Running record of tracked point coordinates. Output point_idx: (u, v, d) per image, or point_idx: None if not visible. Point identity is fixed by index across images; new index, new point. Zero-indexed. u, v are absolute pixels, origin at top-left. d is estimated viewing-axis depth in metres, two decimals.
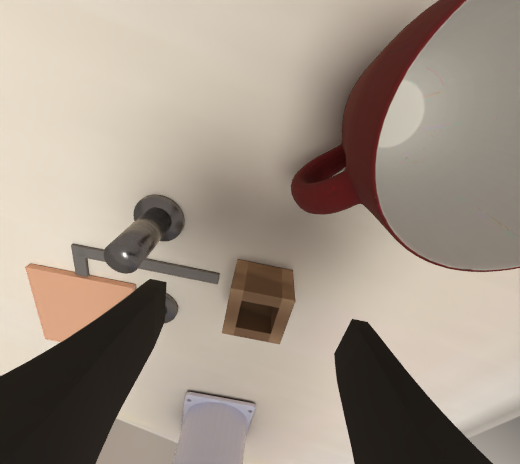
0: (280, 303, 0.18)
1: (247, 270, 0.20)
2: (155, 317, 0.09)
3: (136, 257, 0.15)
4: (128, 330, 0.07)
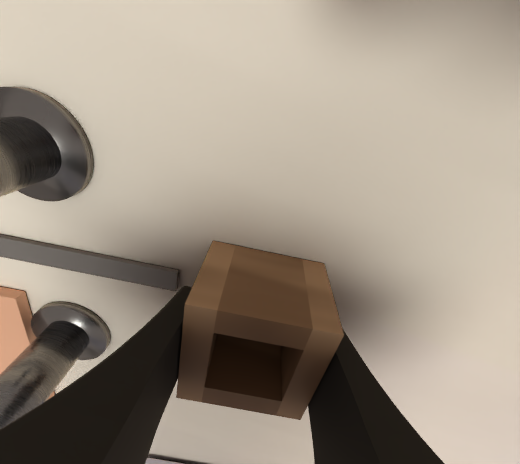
0: (307, 340, 0.07)
1: (230, 263, 0.09)
2: None
3: None
4: (174, 338, 0.07)
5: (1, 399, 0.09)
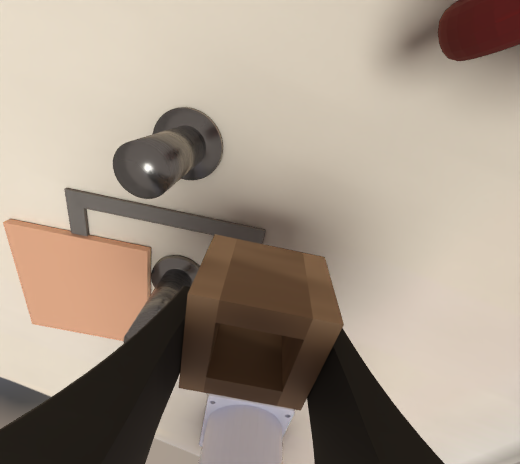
0: (307, 330, 0.08)
1: (232, 256, 0.09)
2: None
3: (166, 168, 0.09)
4: (173, 339, 0.07)
5: (160, 308, 0.14)
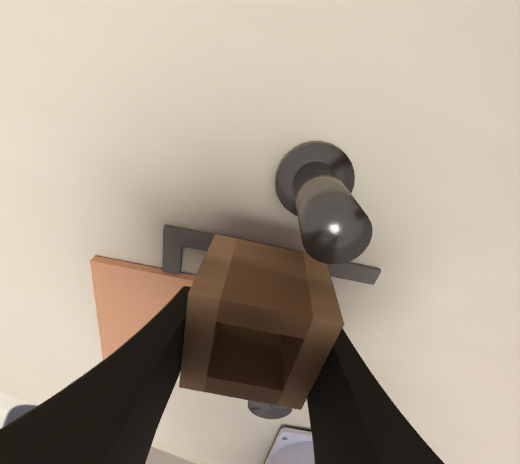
0: (308, 329, 0.08)
1: (232, 255, 0.09)
2: None
3: (368, 232, 0.07)
4: (173, 339, 0.07)
5: None
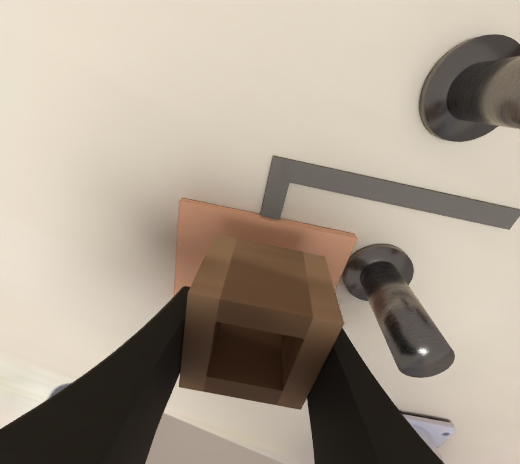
0: (307, 329, 0.08)
1: (232, 255, 0.09)
2: None
3: None
4: (173, 338, 0.07)
5: (423, 311, 0.11)
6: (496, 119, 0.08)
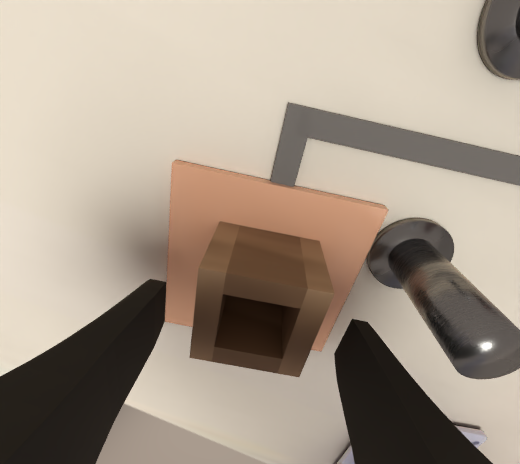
0: (303, 299, 0.09)
1: (236, 239, 0.10)
2: (155, 317, 0.09)
3: None
4: (128, 330, 0.07)
5: (481, 295, 0.08)
6: None
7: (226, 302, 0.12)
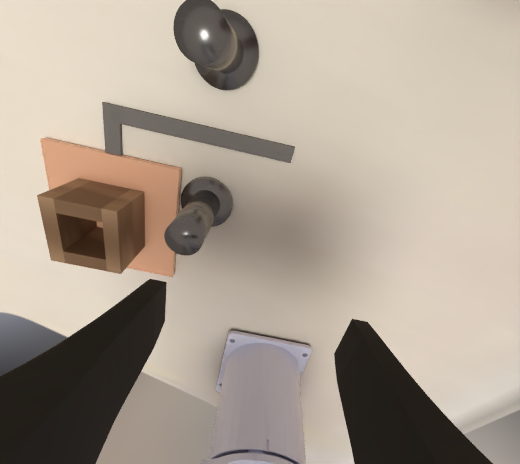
0: (101, 216, 0.15)
1: (79, 186, 0.17)
2: (155, 317, 0.09)
3: (224, 27, 0.10)
4: (128, 330, 0.07)
5: (197, 211, 0.15)
6: None
7: (88, 233, 0.19)
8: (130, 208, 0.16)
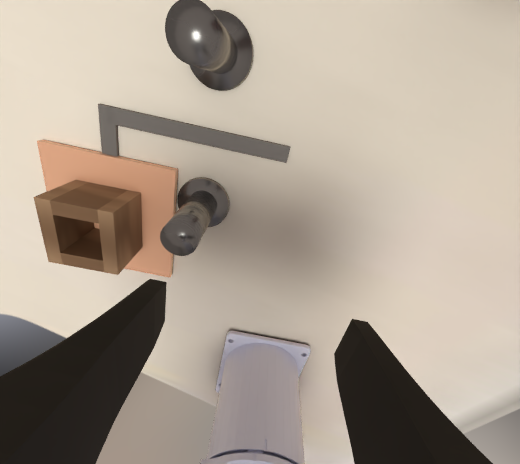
0: (97, 217, 0.15)
1: (76, 188, 0.17)
2: (155, 317, 0.09)
3: (215, 28, 0.10)
4: (128, 330, 0.07)
5: (192, 212, 0.15)
6: None
7: (86, 234, 0.19)
8: (127, 209, 0.17)
